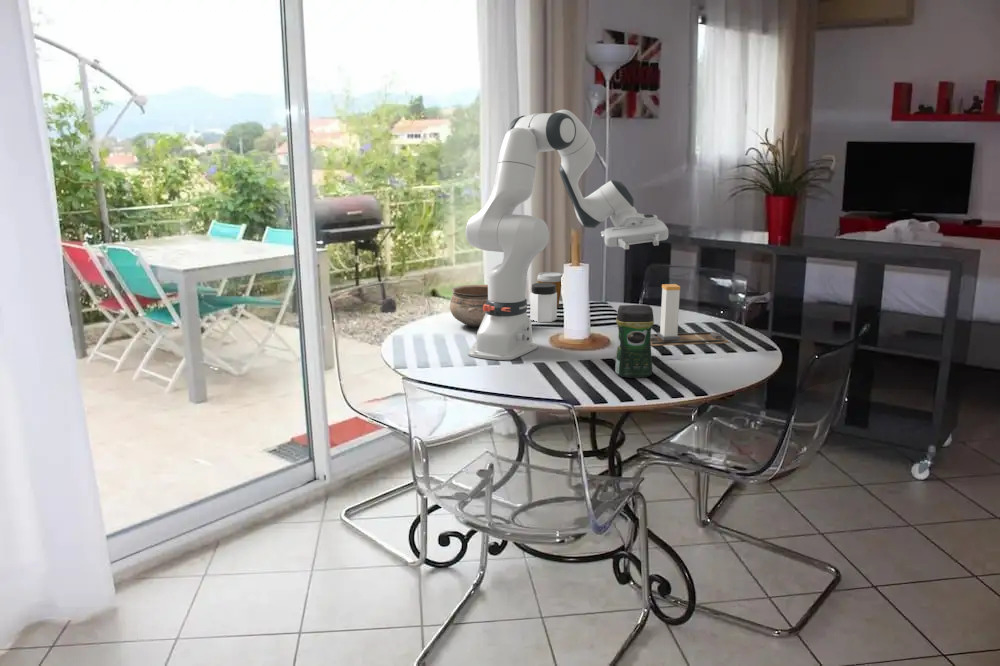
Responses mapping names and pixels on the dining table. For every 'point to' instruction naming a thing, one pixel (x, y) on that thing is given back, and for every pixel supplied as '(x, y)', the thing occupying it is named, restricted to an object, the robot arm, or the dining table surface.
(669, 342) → the board
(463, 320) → the cooking pot
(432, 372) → the dining table surface
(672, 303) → the fader
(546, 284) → the jar
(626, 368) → the coffee jar
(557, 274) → the disposable coffee cup
